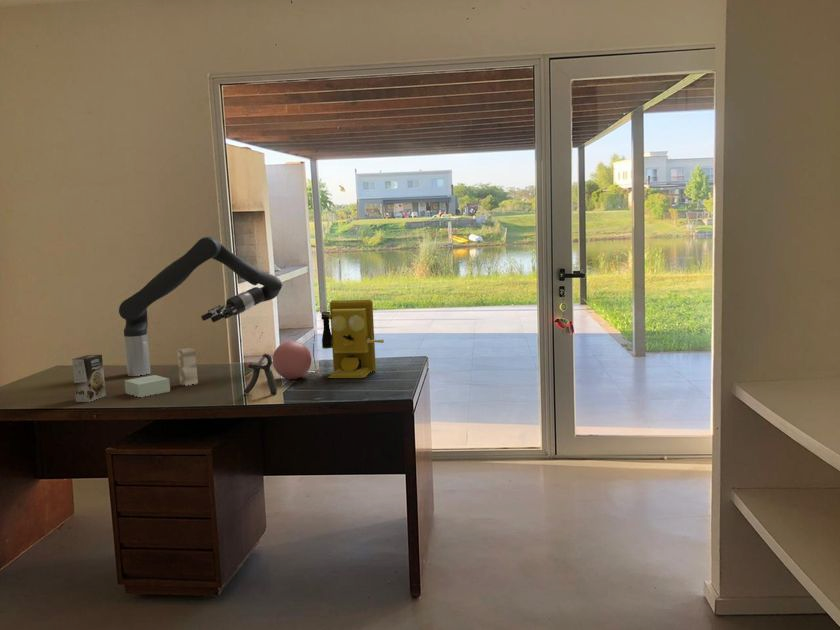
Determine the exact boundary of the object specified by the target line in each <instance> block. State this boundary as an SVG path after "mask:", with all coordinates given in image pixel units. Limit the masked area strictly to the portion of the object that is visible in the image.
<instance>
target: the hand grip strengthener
mask: <svg viewBox="0 0 840 630" xmlns="http://www.w3.org/2000/svg"><path fill="white" fill-rule="evenodd" d="M265 358H266V365H265V364H264V365H261V364H262V363H263V361H264V360H265ZM272 365H273V357H272V356H271V355H270V354H268V353H264V354H262V356H261V358H260V359H259V360H258V362H257V363H256V364H252V363H249V362H247V363H246V364H245V368H246V369H252V370H253V371H252V377H251V379H250V381H249V383H248V385H247V386H246V388H245V389H244V391H243V392H244V393H245V394H249V393H250V392H251V391H252V390H253V389H254V387H255V385H256V384H257V381H258V379H259V378H260V377H259V376H260V372H261V370H263V371H264V374H265V377H266V378H265V379H266V381H267V385H268V388H269V392H270V395H271V394H275V395H277V394H278V388H277V384H276V380H275V376H274V373H273V370H271V366H272ZM276 393H277V394H276Z"/></svg>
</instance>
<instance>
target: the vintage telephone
mask: <svg viewBox="0 0 840 630" xmlns="http://www.w3.org/2000/svg"><path fill="white" fill-rule="evenodd" d="M320 308H322V306H321V307H319V308H318V309H317V311H316V315H317V313H318V311H319V310H320ZM323 310H324V311H322V312H321V317H320V318H321V320H322V322H323V323H322V324H323V331H322V337H321V344H322V349H325V350H327V349H331V351H332V366H333V372H331V374H330V373H329V374H328V373H322V375H325V376H327V375H328V376H327V379H328V378H364V377H365V378H366V377H368V376H369V375H370V374H371V373H372V372H371V371H377V365H376V351H375V350H376V345H375V343H381V344H383V343H384V338H382V339H375V326H374V306H373V301H372V300H371V299H344V300H343V299H342V300H341V299H338V300H337V299H336V300H333V299H332V300H331V301H330V302H329V310H330V311H326V310H325V308H323ZM314 324H316V319H315V323H314ZM315 336H316V331H314V335H313V341H315ZM312 347H313V348H312V356H313V357H312V358H313V362H314V364H316V361H315V359H316V358H315V344H313V346H312ZM314 368H315V370H317V369H316V368H317V367H316V365H314ZM334 371H335V372H334ZM370 372H371V373H370ZM369 373H370V374H369ZM368 374H369V375H368ZM367 375H368V376H367ZM365 378H364V379H365Z"/></svg>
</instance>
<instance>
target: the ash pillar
mask: <svg viewBox="0 0 840 630" xmlns="http://www.w3.org/2000/svg"><path fill="white" fill-rule="evenodd" d="M176 352H177V353H176V354H177V362H178V374H179V376H178V377H179V385H180V384H181V385H180V386H184V385H185V386H184V387H187V386H188V385H189V386H193V385H192V384H194V385H198V384H199V381H198V368H197V355H196V349H195V348H190V347H188V348H181V349H177V351H176ZM197 383H198V384H197ZM189 386H188V387H189Z"/></svg>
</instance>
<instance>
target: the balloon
mask: <svg viewBox="0 0 840 630" xmlns="http://www.w3.org/2000/svg"><path fill="white" fill-rule="evenodd" d="M312 358H313V357H312V354H311V351H310V350H309V348H308V347H307V346H306V345H305V344H304V343H303V342H299V341H296V340H288V341H285V342H283V343H281V344H280V345H278V347H276V349H275V350H274V352H273V354H272V366H273V368H274V370H275V372H276V373H277V374H278V375H279V377H282V378H284V379H287V380H298V379H300V378H302V377H303V376H305V375H306V374H307V373H308V371H310V368H311V366H312Z"/></svg>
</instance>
